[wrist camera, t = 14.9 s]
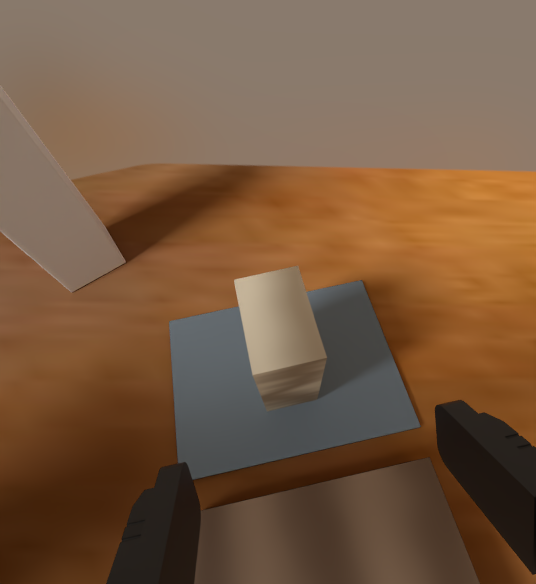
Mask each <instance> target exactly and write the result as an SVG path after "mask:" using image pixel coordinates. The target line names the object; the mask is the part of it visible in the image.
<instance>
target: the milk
mask: <svg viewBox="0 0 536 584" xmlns="http://www.w3.org/2000/svg"><path fill="white" fill-rule="evenodd" d="M0 232H2V233H3V234H4V235H5V236H6V237H7V238H9V239H10V240H11V241H12V242H13V243H14V244H16V245H17V246H18V247H19V248H20V249H21V250H23V251H24V252H25V253H26V254H27V255H28V256H30V257H31V258H32V259H33V260H34V261H35V262H37V263H38V264H39V265H40V266H41V267H42V268H44V269H45V270H46V271H47V272H48V273H49V274H51V275H52V276H53V277H54V278H55V279H56V280H58V281H59V282H60V283H61V284H62V285H63V286H65V287H66V288H67V289H68V290H69V291H70V292H74V291H76V290H77V289H79V288H81V287H83V286H85V285H86V284H88V283H90V282H92V281H94V280H95V279H97V278H99V277H101V276H103V275H104V274H106V273H108V272H110V271H112V270H113V269H115V268H117V267H119V266H121V265H122V264H124V263H126V261H125V259H124V257H123V256H122V254H121V252H120V251H119V249H118V247H117V246H116V244H115V242H114V241H113V239H112V237H111V236H110V234H109V232H108V231H107V229H106V227H105V226H104V224H103V223H102V222H101V220H100V219H99V218H98V216H97V215H96V214H95V212H94V211H93V210H92V208H91V207H90V205H89V204H88V203H87V201H86V200H85V199H84V197H83V196H82V195H81V193H80V192H79V191H78V189H77V188H76V187H75V185H74V184H73V182H72V181H71V180H70V178H69V177H68V176H67V174H66V173H65V172H64V170H63V169H62V168H61V166H60V165H59V164H58V162H57V161H56V159H55V158H54V157H53V155H52V154H51V153H50V151H49V150H48V149H47V147H46V146H45V145H44V143H43V142H42V141H41V139H40V138H39V137H38V135H37V134H36V133H35V131H34V130H33V128H32V127H31V126H30V124H29V123H28V122H27V120H26V119H25V118H24V116H23V115H22V113H21V112H20V111H19V110H18V108H17V107H16V105H15V104H14V103H13V101H12V100H11V99H10V97H9V96H8V95H7V93H6V92H5V90H4V89H3V88H2V86H1V85H0Z"/></svg>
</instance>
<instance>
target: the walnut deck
mask: <svg viewBox="0 0 536 584" xmlns="http://www.w3.org/2000/svg"><path fill="white" fill-rule="evenodd" d="M194 584H480V583H479V580H478V578H477V575H476V573H475V570H474V568H473V565H472V563H471V560H470V558H469V555H468V553H467V550H466V548H465V545H464V542H463V540H462V537H461V535H460V532H459V530H458V527H457V525H456V522H455V520H454V517H453V515H452V512H451V510H450V507H449V505H448V502H447V500H446V497H445V495H444V492H443V490H442V487H441V485H440V482H439V480H438V477H437V475H436V472H435V470H434V467H433V465H432V462H431V460H430V457H428V458H424V459H419V460H415V461H410V462H406V463H402V464H397V465H393V466H389V467H385V468H380V469H376V470H372V471H368V472H363V473H359V474H355V475H351V476H346V477H342V478H338V479H334V480H329V481H325V482H321V483H317V484H312V485H308V486H304V487H299V488H295V489H291V490H287V491H282V492H278V493H274V494H270V495H265V496H261V497H257V498H253V499H248V500H244V501H240V502H236V503H231V504H227V505H223V506H219V507H214V508H210V509H206V510H202V511H201V526H200V535H199V544H198V553H197V563H196V572H195V581H194Z"/></svg>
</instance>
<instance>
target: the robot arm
mask: <svg viewBox="0 0 536 584" xmlns="http://www.w3.org/2000/svg"><path fill="white" fill-rule="evenodd" d="M435 418H436V432H437V445H438V450H439V453H440V456H441V458H442V460H443V462H444V464H445V465H446V467H447V468H448V469H449V471H450V472H451V473H452V474H453V476H454V477H455V478H456V479H457V481H458V482H459V483H460V484H461V486H462V487H463V488H464V489H465V491H466V492H467V493H468V494H469V496H470V497H471V498H472V499H473V501H474V502H475V503H476V504H477V506H478V507H479V508H480V509H481V511H482V512H483V513H484V514H485V516H486V517H487V518H488V519H489V521H490V522H491V523H492V524H493V526H494V527H495V528H496V529H497V531H498V532H499V533H500V534H501V536H502V537H503V538H504V539H505V541H506V542H507V543H508V544H509V546H510V547H511V548H512V549H513V551H514V552H515V553H516V554H517V556H518V557H519V558H520V559H521V561H522V562H523V563H524V564H525V566H526V567H527V568H528V569H529V571H530V572H531V573H532V574H533V575H534V574H536V448H535V447H534V446H533V447H532V446H531V443H529V442H528V441H527V440H526V439H524V438H523V437H522V436H519V435H518V433H517V432H516V431H515V430H513V429H512V428H511V427H510V426H508V425H507V424H506V423H505V422H504V421H502V420H499V419H497V418H495V417H493V416H491V415H489V414H487V413H479V414H478V413H477V412H476V411H474V410H473V409H472V408H471V407H470V406H469V405H468V404H466V403H465V402H464V401H462V400H457V401H452V402H448V403H444V404H439V405H437V406H436V407H435ZM200 526H201V511H200V504H199V499H198V496H197V493H196V490H195V486H194V483H193V480H192V477H191V473H190V470H189V467H188V465H187V463H186V462H183V463H178V464H174V465H169V466H165V467H161V468H160V470H159V473H158V477H157V480H156V484H155V487H154V488H151V489H147V490H144V492H143V493H142V494H141V496H140V497H139V498H138V500H137V501H136V503H135V504H134V505H133V507H132V510H131V513H130V516H129V519H128V522H127V527H126V528H125V530H124V533H123V536H122V542H121V543H120V545H119V548H118V551H117V554H116V557H115V560H114V563H113V566H112V569H111V572H110V574H109V577H108V580H107V583H106V584H194V581H195V572H196V563H197V553H198V544H199V535H200Z"/></svg>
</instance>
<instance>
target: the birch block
mask: <svg viewBox="0 0 536 584" xmlns="http://www.w3.org/2000/svg"><path fill="white" fill-rule="evenodd" d="M234 283H235V288H236V293H237V298H238V303H239V308H240V314H241V319H242V324H243V329H244V334H245V339H246V344H247V349H248V355H249V360H250V365H251V370H252V375H253V378H254V380H255V383H256V385H257V388H258V390H259V393H260V395H261V398H262V400H263V403H264V405H265V408H266V410H267V411H272V410H276V409H280V408H284V407H288V406H292V405H297V404H301V403H305V402H309V401H313V400H317V398H318V394H319V390H320V386H321V381H322V377H323V373H324V368H325V364H326V360H327V356H326V353H325V350H324V347H323V343H322V340H321V337H320V334H319V331H318V328H317V324H316V321H315V318H314V315H313V312H312V309H311V305H310V302H309V299H308V296H307V293H306V290H305V286H304V283H303V280H302V277H301V274H300V271H299V267H298V266H294V267H290V268H285V269H281V270H276V271H272V272H267V273H263V274H258V275H254V276H249V277H245V278H240V279H236V280H234Z"/></svg>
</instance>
